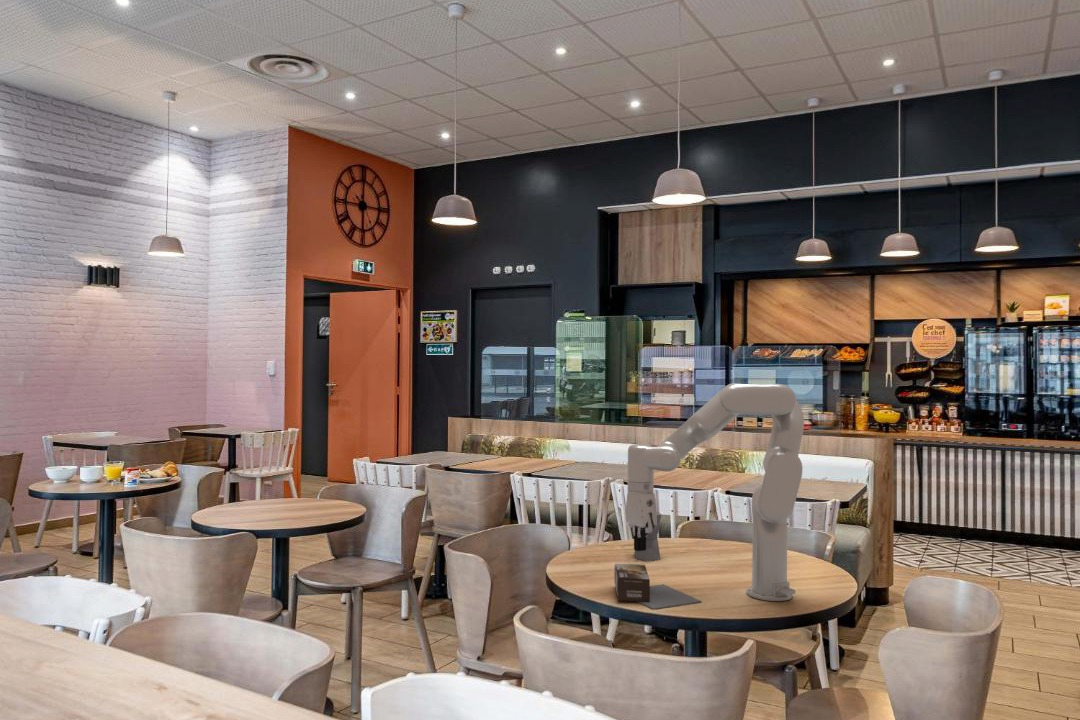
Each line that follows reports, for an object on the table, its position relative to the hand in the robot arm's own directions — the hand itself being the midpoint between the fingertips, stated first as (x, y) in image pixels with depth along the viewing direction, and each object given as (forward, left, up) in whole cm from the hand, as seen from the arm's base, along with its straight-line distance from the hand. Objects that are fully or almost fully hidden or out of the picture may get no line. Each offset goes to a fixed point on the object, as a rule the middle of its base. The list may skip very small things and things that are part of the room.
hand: (640, 550), depth 226 cm
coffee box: (+3, +2, -8) cm, 8 cm away
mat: (-9, 0, -11) cm, 15 cm away
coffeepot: (+29, -22, -11) cm, 38 cm away
